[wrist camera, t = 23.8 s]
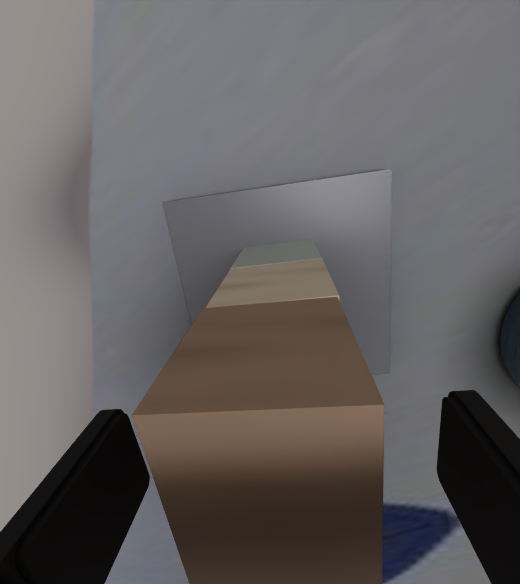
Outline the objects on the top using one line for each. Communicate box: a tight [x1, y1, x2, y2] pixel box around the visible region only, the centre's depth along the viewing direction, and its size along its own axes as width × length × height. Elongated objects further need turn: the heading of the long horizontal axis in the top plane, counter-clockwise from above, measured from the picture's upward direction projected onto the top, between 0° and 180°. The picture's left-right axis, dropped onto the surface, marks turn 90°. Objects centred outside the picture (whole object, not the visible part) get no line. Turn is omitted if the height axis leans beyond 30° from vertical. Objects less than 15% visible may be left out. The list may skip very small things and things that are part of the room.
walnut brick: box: [132, 297, 384, 584], centre depth 9 cm, size 7×4×5 cm, turn 7°
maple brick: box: [206, 258, 339, 308], centre depth 13 cm, size 7×4×5 cm, turn 8°
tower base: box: [163, 169, 392, 374], centre depth 19 cm, size 14×14×6 cm
